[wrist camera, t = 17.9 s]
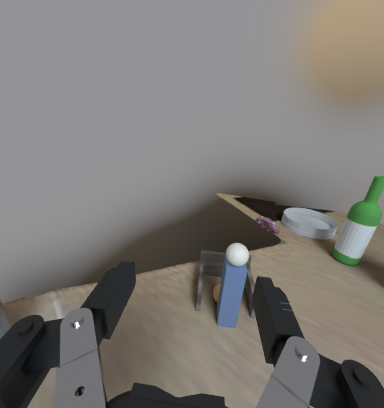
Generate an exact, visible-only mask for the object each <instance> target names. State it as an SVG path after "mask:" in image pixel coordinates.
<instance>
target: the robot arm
mask: <svg viewBox="0 0 384 408" xmlns="http://www.w3.org/2000/svg"><path fill="white" fill-rule="evenodd" d="M135 283H136V275H135V264H134V262H133V261H124V260H123V261H121V262H120V264H119V265H118V267H117V268H112V269H110V270H109V271H107V272H106V273H105V274H104V276H103V277H102V279H101V281H99V283H98V284H97V286H96V287H95V288H94V290H93V291H92V292H91V294H90V295H89V296H88V298H87V299H86V301H85V302H84V303H83V305H82V306H81V307H80V308H79V309H76V310H73V311H72V312H70V313H69V314H67V315H66V316H65V317H64V318H63V319H58V320H52V321H46V322H44V319H43V317H41V316H39V315H31V316H28V317H25V318H23V319H21V320H19V321H18V322H17V323H15V324H14V325H13V326H12V325H11V323H10V320H9V318H8V316H7V314H6V312H5V309H4V307H3V305H2V303H1V301H0V408H27V406H28V405H29V403H30V401H31V400H32V398H33V397H34V395H35V393H36V392H37V390H38V388H39V387H40V385H41V383H42V382H43V380H44V379H45V377H46V375H47V374H48V372H49V370H50V369H51V368H54V367H58V368H57V374H56V408H228V407H226V406H225V401H224V397H221V396H214V395H208V394H202V393H201V394H196V395H190V396H185V397H179V398H178V397H175V396H173V395H171V394H169V393H167V392H165V391H164V390H162V389H160V388H158V387H156V386H152V385H146V384H139V383H134V384H133V387H132V390H131V391H127V392H125V393H122V394H120V395H118V396H116V397H114V398H113V399H111V400H110V401H109V402H108V397H107V392H106V386H105V380H104V374H103V368H102V361H101V355H100V348H99V345H100V343H101V341H102V339H110V338H111V336H112V333H113V331H114V329H115V327H116V325H117V323H118V321H119V319H120V317H121V315H122V313H123V310H124V308H125V306H126V304H127V302H128V300H129V298H130V296H131V294H132V292H133V290H134V287H135ZM253 307H254V311H255V316H256V320H257V325H258V329H259V333H260V338H261V342H262V347H263V351H264V356H265V360H266V363H269V364H273V365H274V370H273V373H272V374H271V376H270V378H269V380H268V382H267V384H266V387H265V389H264V391H263V393H262V395H261V398H260V400H259V402H258V404H257V406H256V408H310V407H309V405H311V406H312V407H314V408H384V388H383V386H382V385H381V383H380V382H379V380H378V379H377V377H376V376H375V375H374V374H373V373H372V372H371V371H370V370H369V369H368V368H366V367H365V366H364V365H362V364H360V363H359V362H356V361H354V360H345V361H343V363H342V364H339V363H337V362H335V361H333V360H330V359H328V358H326V357H324V356H322V355H320V354H319V353H318V352H317V351H316V349H315V348H314V347H313V346H312V345H311V344H310V343H309V342H308V341H307V340H305V338H304V336H303V334H302V331H301V329H300V327H299V324H298V322H297V320H296V317H295V315H294V313H293V311H292V308H291V306H290V305H289V301H288V299H287V297H286V295H285V293H284V292H283V291H282V290H281V289H280V288H278V287H274V285H273V282H272V280H271V278H268V277H260V276H258V277H257V279H256V283H255V287H254V291H253ZM59 366H60V367H59Z"/></svg>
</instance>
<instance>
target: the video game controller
mask: <svg viewBox="0 0 384 408" xmlns="http://www.w3.org/2000/svg"><path fill="white" fill-rule="evenodd" d="M256 220H257V223H258V224H260V226H261V227H262V228H263V229H265V228H266V226H267V231H269V232H271V231H273V232H275V233H279V232H280V228H279V227H278V226H277V225H276V224H275V223H274V222H272V221H271V220H270V219H269V218H264V217H263V216H261V217H259V218H257V219H256Z"/></svg>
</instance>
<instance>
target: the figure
mask: <svg viewBox="0 0 384 408" xmlns="http://www.w3.org/2000/svg"><path fill="white" fill-rule="evenodd" d="M248 258H249V252H248V250H247V248H246V247H245V246H244V245H242V244H240V243H234V244H231V245H230V246H229V247H228V248H227V250H226V256H225V259H224V265H223V272H222V278H221V285H220V291H219V298H218V304H217V326H224V327H232V328H235V327H236V322H237V317H238V313H239V308H240V304H241V299H242V294H243V290H244V285H245V281H246V276H247V268H246V264H245V263H246V262H247V261H248Z"/></svg>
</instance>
